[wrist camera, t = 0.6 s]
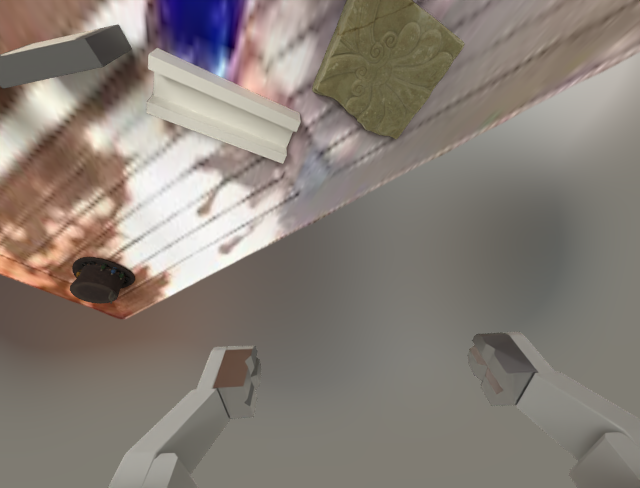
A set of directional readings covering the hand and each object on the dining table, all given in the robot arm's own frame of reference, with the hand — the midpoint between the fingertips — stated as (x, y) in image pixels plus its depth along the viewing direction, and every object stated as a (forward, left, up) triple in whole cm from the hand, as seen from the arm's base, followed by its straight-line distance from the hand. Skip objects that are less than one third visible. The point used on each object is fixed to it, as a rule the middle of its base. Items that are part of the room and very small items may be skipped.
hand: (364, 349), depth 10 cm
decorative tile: (-3, +14, -50) cm, 52 cm away
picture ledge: (+14, -8, -49) cm, 52 cm away
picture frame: (+14, -30, -49) cm, 59 cm away
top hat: (+74, -30, -50) cm, 94 cm away
